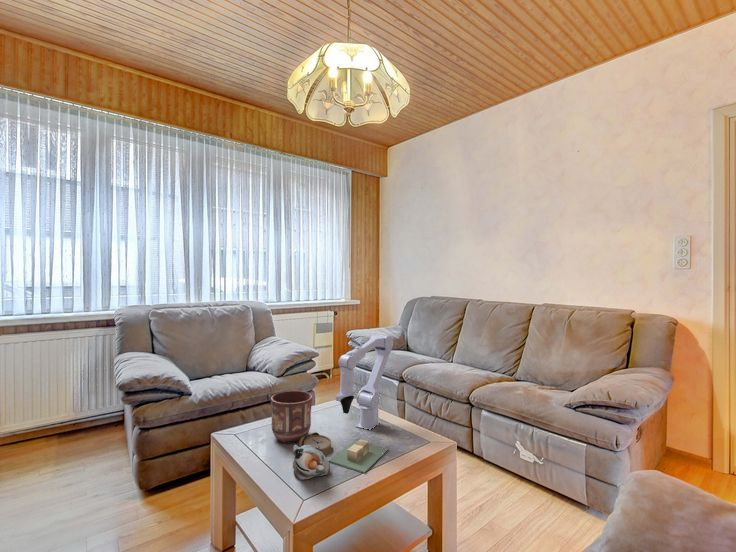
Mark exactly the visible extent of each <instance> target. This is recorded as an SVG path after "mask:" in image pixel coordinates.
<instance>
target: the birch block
mask: <svg viewBox="0 0 736 552" xmlns="http://www.w3.org/2000/svg"><path fill="white" fill-rule="evenodd" d="M358 440H359V441H358V442H356V443H355V444H354V445H353V446H351V447H350V448H349V449H347V460H349V461H353V462H357V461H359V460H360V459H361V458H362V457H363V456H364V455H365V454H367V453H368V452H369V443H370V441H368V440H364V439H361V438H360V439H358Z"/></svg>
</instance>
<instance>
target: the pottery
mask: <svg viewBox="0 0 736 552" xmlns="http://www.w3.org/2000/svg"><path fill="white" fill-rule="evenodd" d="M312 405H313V394H311V393H310V392H307V391H303V390H285V391H280V392H277V393H275V394H273V395H272V396H271V397H270V407H271V410H270V411H271V431H272V433H273V435H274V437H275V438H276V439H277V440H278V441H279V442H280V443H284V444H285V443H286V444H291V443H292V444H293V443H299V441H300V439H301V437H302V436H304V435H309V432H310V429H311V425H312V424H311V423H312V420H311V419H312Z"/></svg>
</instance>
